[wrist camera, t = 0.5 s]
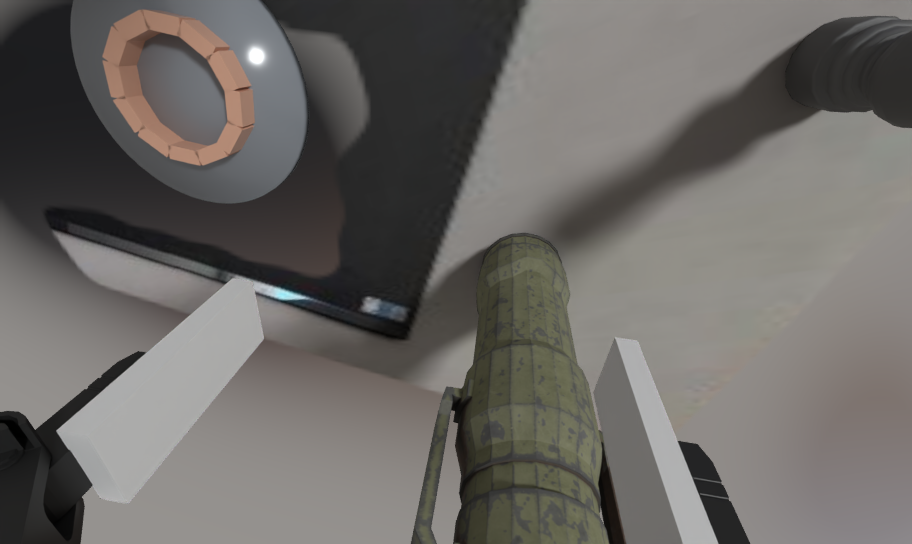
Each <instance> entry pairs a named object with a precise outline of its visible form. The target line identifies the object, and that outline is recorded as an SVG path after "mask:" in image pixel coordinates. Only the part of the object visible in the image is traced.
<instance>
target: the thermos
mask: <svg viewBox="0 0 912 544" xmlns="http://www.w3.org/2000/svg"><path fill="white" fill-rule="evenodd" d="M476 296H477V311H478V313H479V321H478V329H477V337H476V344H475V352H474V360H473V365H472V367H471V368H470V369H469V370H468V372H467V375H466V379H465V383H464V386H463V388H462V389H460V388H453V387H446V389H445V392H444V394H443V397H442V400H441V404H440V408H439V411H438V415H437V420H436V424H435V428H434V433H433V438H432V443H431V447H430V452H429V458H428V462H427V467H426V472H425V477H424V482H423V487H422V492H421V497H420V501H419V507H418V512H417V516H416V521H415V526H414V531H413V536H412V541H411V544H437V543H436V540H435V538H434V535H433V532H432V530H431V525H432V519H433V512H434V507H435V502H436V496H437V489H438V483H439V478H440V471H441V466H442V460H443V454H444V448H445V442H446V437H447V431H448V425H449V419H450V413H451V410H453V411H455V415H454V421H453V422H455V423H458V429H457V437H456V444H455V448H456V452H457V457H458V462H459V466H460V471H461V483H460V492H459V494H460V499H461V503H462V506H461V509H460V511H459V514H458V517H457V520H456V525H455V533H454V542H453V544H626V540H625V535H624V530H623V526H622V521H621V517H620V512H619V508H618V503H617V498H616V494H615V489H614V485H613V480H612V475H611V471H610V466H609V462H608V457H607V453H606V448H605V443H604V439H603V434H602V432H601V431H600V430H598V426H597V421H596V417H595V412H594V407H593V403H592V398H591V393H590V389H589V384H588V382H587V380H586V377H585V375H584V373H583V371H582V369H581V368H580V367H579V366H578V364H577V359H576V354H575V349H574V344H573V339H572V333H571V328H570V323H569V318H568V313H567V308H566V307H567V304H568V302H569V297H570V291H569V287H568V282H567V278H566V273H565V271H564V268H563V266H562V262H561V259H560V257H559V254H558V252H557V250H556V249H555V248H554V247H553V246H552V245H551V243H550V242H548V241H547V240H545V239H543V238H541V237H540V236H537V235H532V234H528V233H519V234H511V235H508V236H506V237H503V238H500V239H499V240H498V241H496V242H495V243H494V244H493V245H491V246H490V248H489V249H488V251H487V252H486V254H485V255H484V259H483V263H482V266H481V270H480V274H479V279H478V286H477V292H476ZM600 505H601V510H602V515H603V521H604V524H603V522H602V520H601V518H600V514H599V513H600Z"/></svg>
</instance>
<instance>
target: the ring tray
mask: <svg viewBox="0 0 912 544" xmlns="http://www.w3.org/2000/svg"><path fill="white" fill-rule="evenodd" d="M70 29H71V31H70V33H71V42H72V50H73V55H74V59H75V64H76V68H77V71H78V74H79V77H80V80H81V83H82V85H83V88H84V90H85V92H86V94H87V97H88V99H89V101H90V103H91V105H92V106H93V108H94V110H95V112H96V114H97V115H98V117H99V118H100V120H101V122H102V123H103V125H104V126H105V127H106V129H107V130H108V132H109V133H110V134H111V136H112V137H113V138H114V140H115V141H116V142H117V143H118V144H119V145H120V147H121V148H122V149H123V150H124V151H125V152H126V153H127V154H128V155H129V156H130V157H131V158H132V159H133V160H134V161H135V162H136V163H138V165H139V166H141V167H142V168H143V169H144V170H146V171H147V172H148V173H150V174H151V175H152V176H153V177H155V178H156V179H158V180H159V181H161V182H162V183H164V184H166V185H167V186H169V187H171V188H173V189H175V190H177V191H179V192H181V193H183V194H186V195H188V196H191V197H194V198H197V199H200V200H204V201H209V202H215V203H227V204H231V203H241V202H246V201H250V200H254V199H257V198H259V197H261V196H263V195H265V194H267V193H269V192H270V191H272V190H273V189H275V188H276V187H278V186H279V185H281V184H282V183H283V182H284V181H285V180H286V179H287V178H288V177H289V176H290V174H291V173H292V172H293V171H294V169H295V168H296V166H297V164H298V162H299V160H300V159H301V156H302V154H303V151H304V148H305V145H306V140H307V136H308V128H309V102H308V95H307V90H306V83H305V80H304V77H303V73H302V69H301V66H300V64H299V61H298V58H297V56H296V54H295V51H294V49H293V47H292V45H291V43H290V41H289V39H288V37H287V35H286V33H285V31H284V30H283V28H282V27H281V25H280V24H279V22H278V21H277V19H276V18H275V16H274V14H273V13H272V12H271V11H270V9H269V8H268V7H267V6H266V5H265V3H264V2H263V1H262V0H73V5H72V11H71V28H70Z"/></svg>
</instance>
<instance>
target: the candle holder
mask: <svg viewBox="0 0 912 544" xmlns="http://www.w3.org/2000/svg"><path fill="white" fill-rule="evenodd" d="M786 88H787V90H788V92H789V94H790V96H791V97H792V99H794V100H796V101H797V102H799V103H801V104H803V105H805V106H809V107H813V108H818V109H822V110H826V111H830V112H867V111H871V110H873V112H874V114H876V115H877V116H878V117H880V118H881V119H883V120H885V121H887V122H888V123H890V124H892V125H894V126H897V127H902V128H912V20H901V19H899V18H898V17H893V16H867V17H850V18H841V19H838V20H835V21H833V22H830V23H827V24H824V25H822V26H821V27H820V28H818V29H817V30H815V31H814V32H813V33H811V34H810V35H809V36H807V37H806V38H805V39H804V40H803V42H802V43H801V44H800V45H799V47H798V48H797V49H796V50H795V52H794V53H793V54H792V57H791V59H790V62H789V64H788V67H787V69H786Z"/></svg>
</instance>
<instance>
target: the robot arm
mask: <svg viewBox="0 0 912 544" xmlns="http://www.w3.org/2000/svg"><path fill="white" fill-rule="evenodd" d="M263 340H264V336H263V331H262V326H261V321H260V316H259V311H258V306H257V301H256V296H255V291H254V286H253V281H247V280H241V279H234V278H232V279H231V280H230V281H229V282H228V283H227V284H225V285H224V286H223V287H222V288H221V289H220V290H218V291H217V292H216V293H215V294H214V295H213V296H211V297H210V298H209V299H208V300H207V301H206V302H205V303H203V304H202V305H201V306H200V307H199V308H198V309H196V310H195V311H194V312H193V313H192V314H191V315H190V316H188V317H187V318H186V319H185V320H184V321H183V322H181V323H180V324H179V325H178V326H177V327H176V328H175V329H174V330H172V331H171V332H170V333H169V334H168V335H166V336H165V337H164V338H163V339H162V340H161V341H159V342H158V343H157V344H156V345H155V346H154V347H153V348H151V349H150V350H149V351H148V352H147V353H145V352H139V351H138V352H136V353H134V354H132V355H130V356H128V357H126V358H125V359H122V360H121V361H119V362H117V363H116V364H115V365H113V366H112V367H111V368H110V369H109V370H108V371H106V372H105V373H104V374H103V375H102V377H101V378H98V379H96V380H95V381H94V382H93V383H92V384H90V385H89V386H88V389H84V390H83V391H82V392H81V393H80V394H79V395H77V396H76V397H75V398H74V399H72V400H71V401H70V402H69V403H67V404H66V405H65V406H64V407H63V408H61V409H60V410H59V411H58V412H56V413H55V414H54V415H53V416H52V417H51V418H49V419H48V420H47V421H46V422H44V423H43V424H42V425H41V426H40V427H38V428H37V429H36V430H35V429H34V428H33V426H32V425H31V424H30V422H29V421H28V419H27V418H26V416H24V415H23V414H21V413H20V412H14V411H4V412H0V544H80V542H81V534H82V525H83V515H84V507H85V506H84V501H83V498H82V496H83V495H84V494H85V493H86V492H87V491H88V490H89V488H91V486H93V488H94V489H95V491H96V493H97V494H98V496H99V497H100V498H101V499H104V500H110V501H115V502H120V503H125V504H128V503H129V502H130V501H131V500H132V499H133V497H134V496H135V495H136V494H137V493H138V491H139V490H140V489H141V488H142V487H143V485H144V484H145V483H146V482H147V480H148V479H149V478H150V477H151V475H152V474H153V473H154V472H155V471H156V470H157V468H158V467H159V466H160V465H161V463H162V462H163V461H164V460H165V459H166V457H167V456H168V455H169V454H170V453H171V451H172V450H173V449H174V448H175V446H176V445H177V444H178V443H179V442H180V440H181V439H182V438H183V437H184V435H185V434H186V433H187V432H188V431H189V429H190V428H191V427H192V426H193V425H194V423H195V422H196V421H197V420H198V418H199V417H200V416H201V415H202V414H203V412H204V411H205V410H206V409H207V408H208V406H209V405H210V404H211V403H212V401H213V400H214V399H215V398H216V397H217V395H218V394H219V393H220V392H221V391H222V389H223V388H224V387H225V386H226V385H227V383H228V382H229V381H230V380H231V378H232V377H233V376H234V375H235V374H236V372H237V371H238V370H239V369H240V367H241V366H242V365H243V364H244V363H245V361H246V360H247V359H248V358H249V357H250V355H251V354H252V353H253V352H254V351H255V349H256V348H257V347H258V346H259V344H260V343H261V342H262V341H263ZM593 393H594V398H595V402H596V407H597V411H598V416H599V420H600V425H601V430H602V434H603V439H604V443H605V448H606V453H607V457H608V462H609V466H610V471H611V475H612V480H613V485H614V489H615V494H616V498H617V503H618V508H619V512H620V517H621V521H622V526H623V530H624V535H625V540H626V544H750V542H749V540H748V538H747V536H746V533H745V531H744V529H743V527H742V525H741V523H740V521H739V518H738V516H737V514H736V512H735V510H734V507H733V505H732V503H731V502H730V501H729V497H728V495H727V492H726V490H725V488H724V486H723V485H722V484H721V479H720V477H719V475H718V473H717V471H716V468H715V466H714V464H713V462H712V461H711V460H710V458H709V457H708V456H707V455H706V454H705V453H704V451H703V450H702V449H701V448H700V447H699V445H698V444H693V443H687V442H681V441H677V439H676V436H675V434H674V431H673V429H672V426H671V424H670V421H669V419H668V416H667V414H666V411H665V408H664V406H663V403H662V401H661V398H660V396H659V393H658V391H657V388H656V386H655V383H654V381H653V378H652V376H651V373H650V371H649V368H648V366H647V363H646V361H645V358H644V356H643V353H642V351H641V348H640V346H639V343H638V341H636V340H630V339H623V338H617V337H615V339H614V341H613V344H612V346H611V349H610V351H609V354H608V356H607V359H606V362H605V364H604V367H603V369H602V372H601V374H600V377H599V379H598V382H597V384H596V387H595V390H594V392H593Z"/></svg>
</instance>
